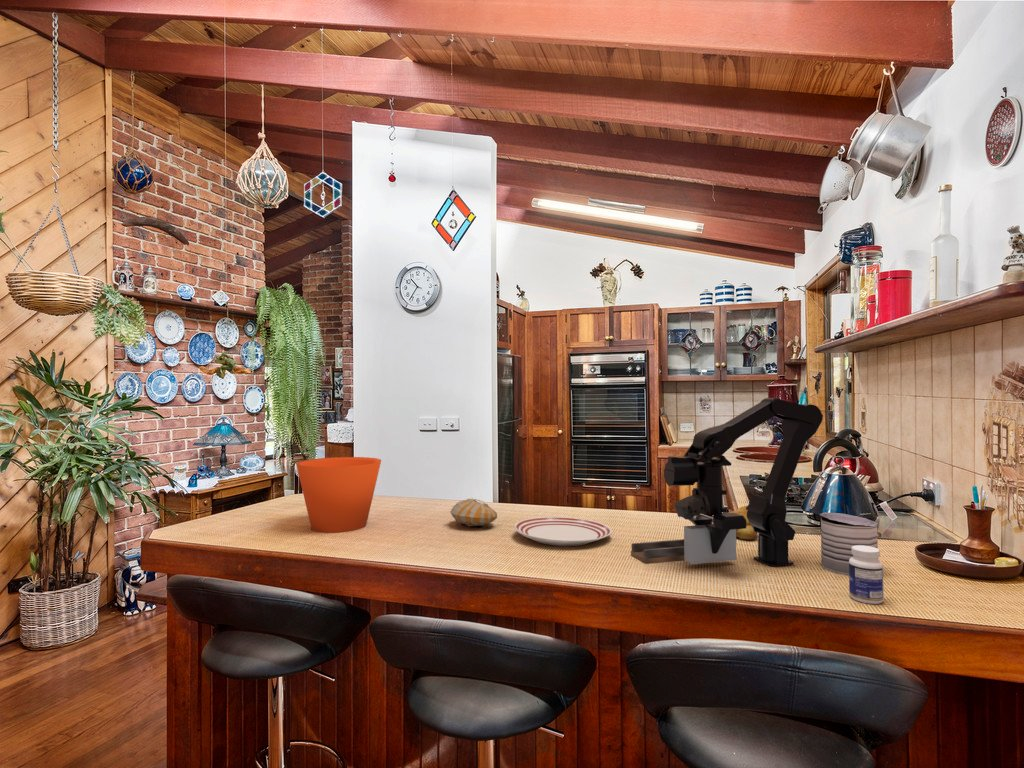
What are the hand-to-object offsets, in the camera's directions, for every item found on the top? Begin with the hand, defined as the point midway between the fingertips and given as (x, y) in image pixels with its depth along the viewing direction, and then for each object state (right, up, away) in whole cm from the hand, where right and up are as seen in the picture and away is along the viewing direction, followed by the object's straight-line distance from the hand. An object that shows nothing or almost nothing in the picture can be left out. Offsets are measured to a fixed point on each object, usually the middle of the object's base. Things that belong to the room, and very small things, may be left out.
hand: (710, 551), depth 130 cm
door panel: (0, -2, 0) cm, 2 cm away
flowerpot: (-100, -4, +39) cm, 107 cm away
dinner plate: (-32, -4, +26) cm, 42 cm away
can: (+31, -3, -3) cm, 31 cm away
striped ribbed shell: (-58, -5, +43) cm, 72 cm away
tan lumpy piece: (+18, -4, +27) cm, 33 cm away
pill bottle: (+23, -3, -22) cm, 32 cm away
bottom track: (-7, -3, +7) cm, 11 cm away
